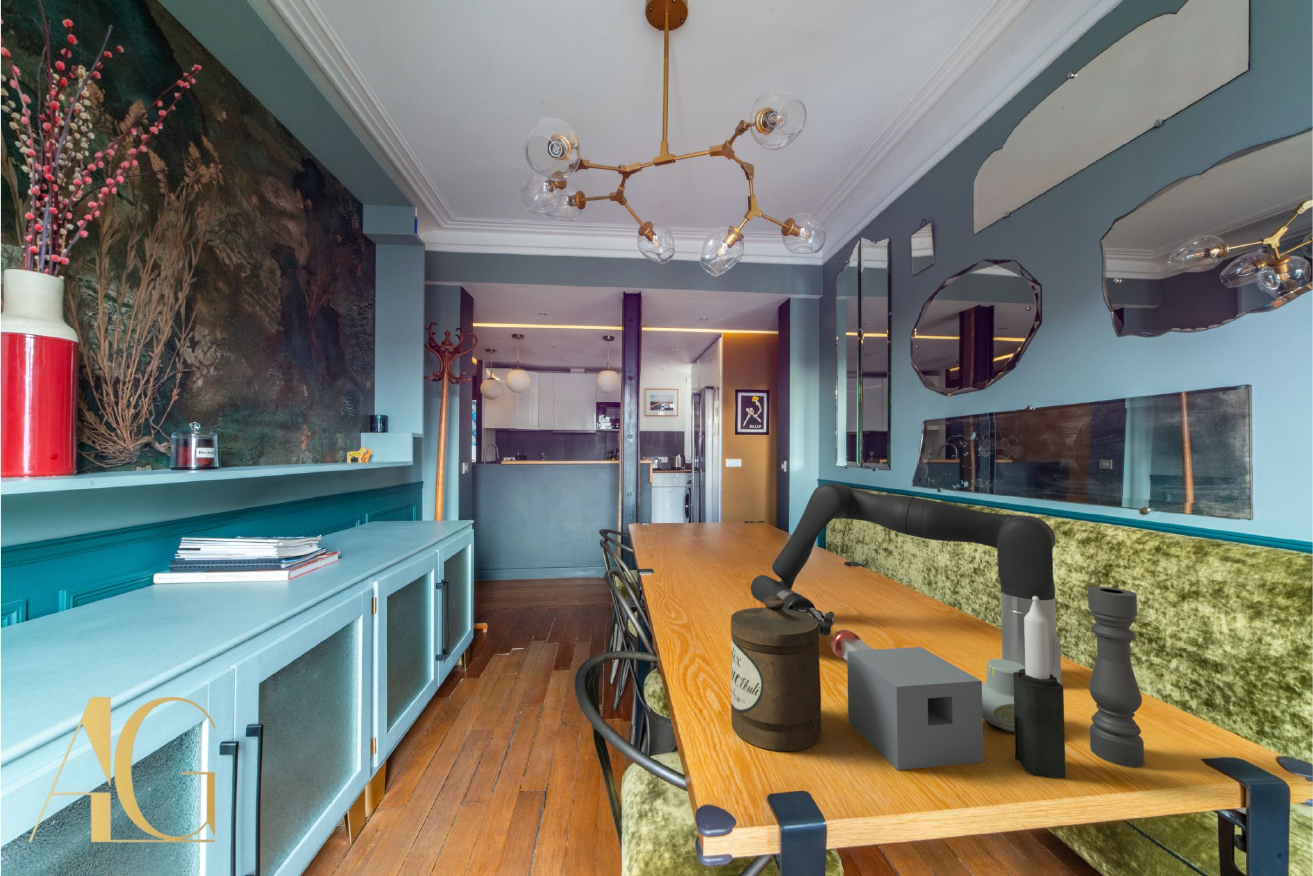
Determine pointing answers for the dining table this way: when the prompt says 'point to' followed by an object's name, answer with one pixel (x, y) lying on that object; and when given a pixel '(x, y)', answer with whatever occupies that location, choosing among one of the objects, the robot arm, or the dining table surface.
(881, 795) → the dining table surface
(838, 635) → the plunger
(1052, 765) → the candle
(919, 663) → the housing
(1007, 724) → the air freshener
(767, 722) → the wooden container
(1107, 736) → the candle holder
